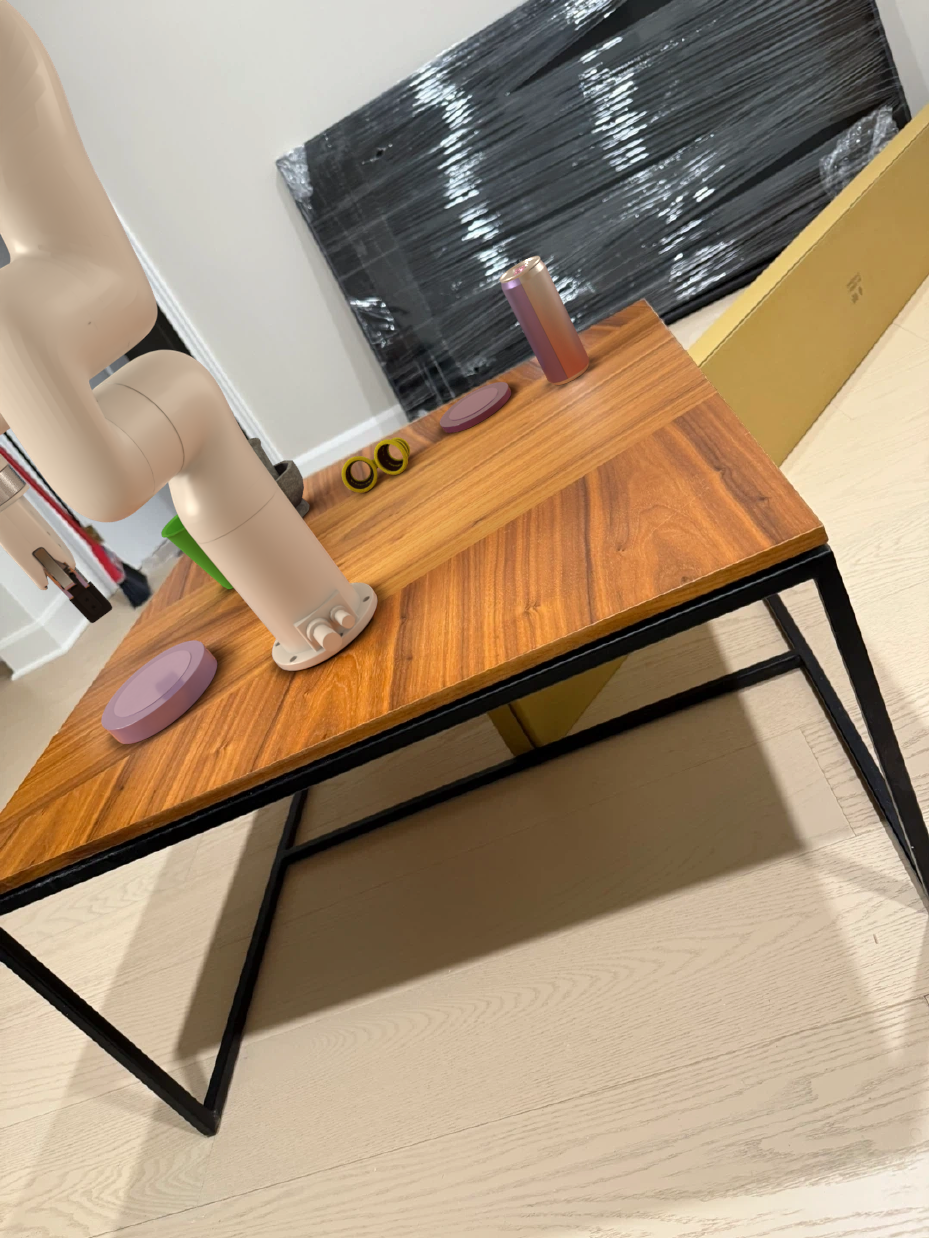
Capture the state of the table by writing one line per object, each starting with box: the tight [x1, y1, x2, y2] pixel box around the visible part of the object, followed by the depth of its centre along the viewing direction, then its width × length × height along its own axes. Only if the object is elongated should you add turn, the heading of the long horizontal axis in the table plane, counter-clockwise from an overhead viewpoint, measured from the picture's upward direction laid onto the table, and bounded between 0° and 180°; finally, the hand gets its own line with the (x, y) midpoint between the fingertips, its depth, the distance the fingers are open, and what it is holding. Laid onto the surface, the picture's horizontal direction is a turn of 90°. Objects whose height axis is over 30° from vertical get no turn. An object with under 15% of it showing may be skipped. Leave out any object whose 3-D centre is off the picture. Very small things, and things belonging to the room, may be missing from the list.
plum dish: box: [439, 381, 512, 434], centre depth 118 cm, size 11×11×1 cm
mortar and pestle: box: [247, 437, 310, 518], centre depth 121 cm, size 11×9×12 cm
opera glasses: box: [341, 436, 411, 494], centre depth 115 cm, size 10×5×5 cm, turn 92°
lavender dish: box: [100, 639, 218, 745], centre depth 95 cm, size 14×14×2 cm
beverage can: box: [498, 255, 590, 386], centre depth 106 cm, size 6×6×15 cm
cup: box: [160, 513, 234, 590], centre depth 112 cm, size 9×9×11 cm
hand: (101, 614), depth 104 cm, fingers closed
